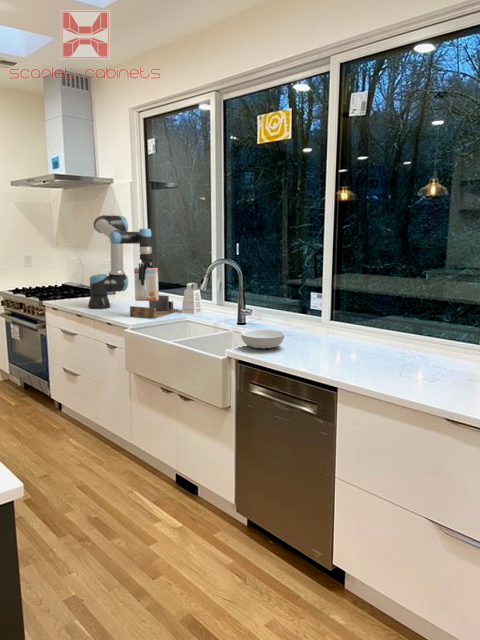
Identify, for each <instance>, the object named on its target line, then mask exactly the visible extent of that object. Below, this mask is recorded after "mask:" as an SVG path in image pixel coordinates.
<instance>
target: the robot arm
mask: <svg viewBox="0 0 480 640" xmlns="http://www.w3.org/2000/svg"><path fill="white" fill-rule="evenodd" d="M93 228H94V230H95V231H96V232H98V233H99V234H103V235H105V236H106V237H107V238H109V242H110V271H109V272H108V274H106V273H100V274H93V275H91V276H90V277H89V294H90V297H89V301H88V306H87V307H88V308H89V309H96V310H97V309H99V310H102V309H109V308H110V307H111V303H110V300H109V297H108V293H111V292H112V293H115V292H116V293H117V292H125V291H126V290H128V287H129V278H128V275H126V272H124V244H127V245H129V244H130V245H134V244H135V245H137V244H138V245H139V253H140V254H139V260H141V262H140V263H138V268H139V280H141V290H146V284H145V274H146V269H147V268H154V262H151V260H152V259H153V254H152V250H153V249H152V230H151V228H139V229H138V231H128V230H129V223H128V221H127V218H126V217H125V216H122V215H106V214H105V215H104V214H103V215H99V216H97V217H96V218H95V219H94V221H93Z"/></svg>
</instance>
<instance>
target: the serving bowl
mask: <svg viewBox="0 0 480 640" xmlns="http://www.w3.org/2000/svg"><path fill="white" fill-rule="evenodd" d="M240 334H241V335H240V337H241V339H242V342H243V343H244V344H245V345H246V346H249V348H254V349H257V348H262V349H261V350H266V349H265V348H269V349H273V348H276V347H278V346H280V345H281V344H282V343H283V342H284V339H285V333H284V332H283V331H281V330H277V329H267V328H262V329H261V328H258V329H257V328H256V329H247V330H244V331H242V332H240Z"/></svg>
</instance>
